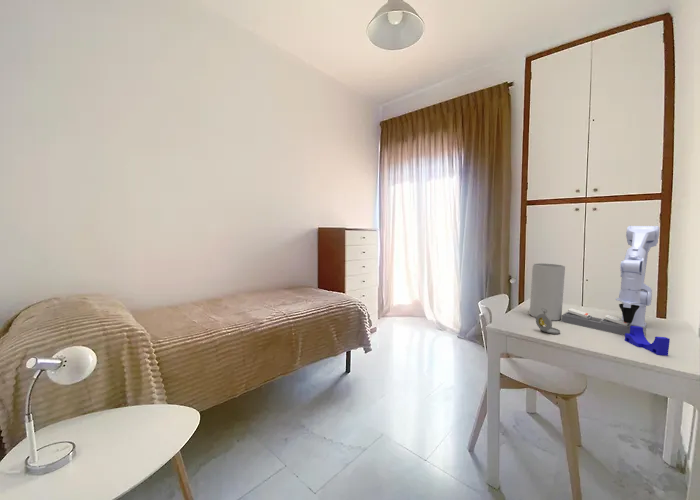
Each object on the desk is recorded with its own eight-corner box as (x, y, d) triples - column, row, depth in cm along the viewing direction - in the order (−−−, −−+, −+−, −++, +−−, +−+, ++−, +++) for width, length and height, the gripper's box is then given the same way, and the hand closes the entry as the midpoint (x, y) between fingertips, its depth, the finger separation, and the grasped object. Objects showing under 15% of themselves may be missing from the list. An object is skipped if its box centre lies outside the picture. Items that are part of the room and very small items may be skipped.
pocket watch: (561, 331, 116) (562, 307, 115) (558, 337, 110) (559, 312, 109) (537, 326, 121) (539, 303, 120) (533, 331, 115) (535, 308, 114)
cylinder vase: (523, 314, 138) (526, 264, 136) (539, 311, 143) (542, 262, 141) (551, 322, 126) (554, 267, 124) (567, 319, 132) (571, 266, 130)
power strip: (566, 318, 133) (567, 310, 133) (645, 334, 113) (646, 325, 113) (561, 321, 128) (562, 313, 128) (643, 339, 108) (644, 330, 108)
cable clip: (624, 340, 107) (625, 325, 107) (638, 341, 106) (639, 326, 106) (652, 355, 95) (653, 337, 95) (667, 356, 95) (669, 338, 94)
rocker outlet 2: (605, 317, 121) (607, 314, 121) (627, 325, 116) (629, 321, 115) (603, 319, 118) (605, 316, 118) (626, 327, 113) (627, 323, 113)
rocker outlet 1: (569, 310, 131) (570, 307, 130) (588, 317, 125) (589, 313, 125) (567, 312, 128) (568, 309, 127) (586, 319, 123) (587, 315, 122)
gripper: (619, 285, 121) (617, 316, 122) (613, 289, 112) (611, 323, 112) (643, 288, 115) (640, 320, 116) (639, 293, 106) (636, 328, 107)
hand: (627, 322), depth 114 cm, fingers closed, pressing on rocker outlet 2
